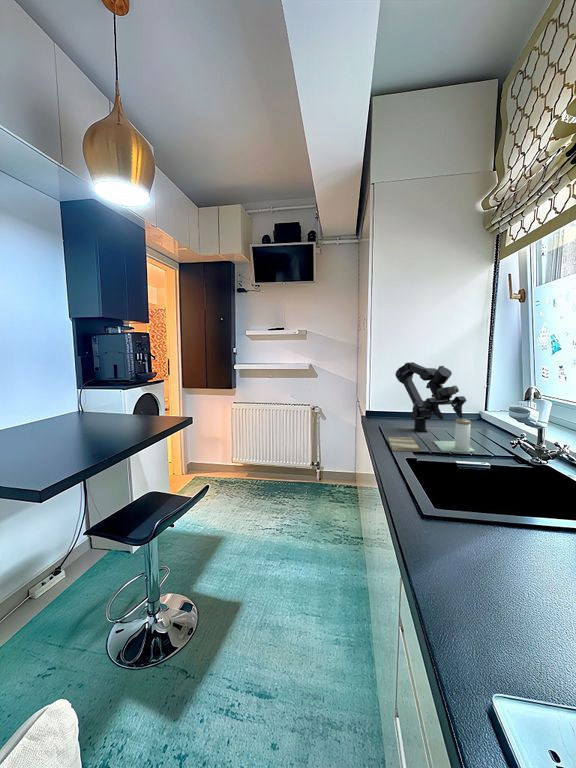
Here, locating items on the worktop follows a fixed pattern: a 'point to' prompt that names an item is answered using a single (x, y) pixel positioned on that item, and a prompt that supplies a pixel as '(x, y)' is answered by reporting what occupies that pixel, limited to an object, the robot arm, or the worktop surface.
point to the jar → (462, 434)
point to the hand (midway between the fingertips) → (452, 418)
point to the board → (403, 444)
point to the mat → (450, 446)
